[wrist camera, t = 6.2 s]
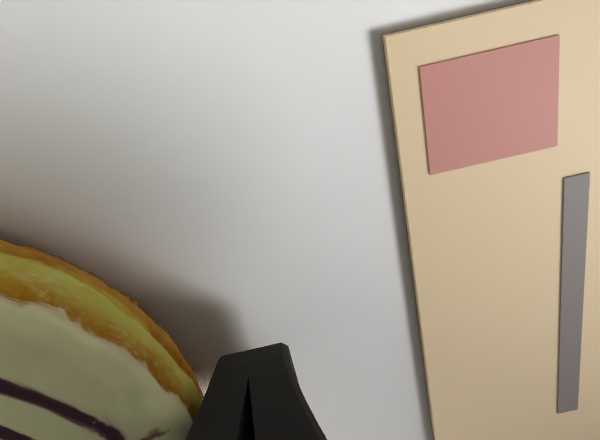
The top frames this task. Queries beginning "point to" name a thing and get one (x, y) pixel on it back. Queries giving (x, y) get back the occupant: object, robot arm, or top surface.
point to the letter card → (504, 216)
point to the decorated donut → (84, 358)
